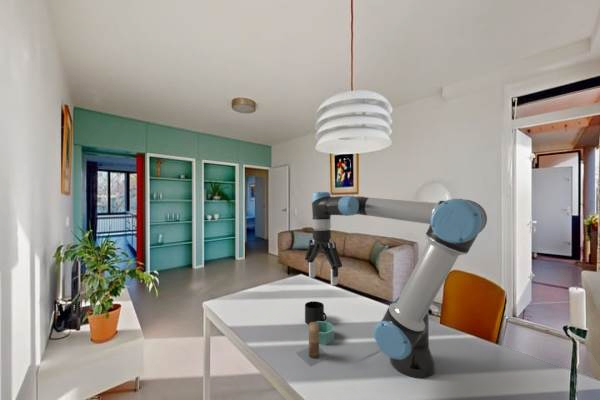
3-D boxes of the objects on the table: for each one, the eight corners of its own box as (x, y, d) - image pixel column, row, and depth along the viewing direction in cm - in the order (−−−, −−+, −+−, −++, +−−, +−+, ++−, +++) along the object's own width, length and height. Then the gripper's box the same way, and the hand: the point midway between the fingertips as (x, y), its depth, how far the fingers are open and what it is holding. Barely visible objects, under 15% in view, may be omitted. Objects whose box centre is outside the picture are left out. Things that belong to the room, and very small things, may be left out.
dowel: (321, 356, 98) (321, 325, 98) (312, 359, 95) (312, 327, 96) (314, 351, 101) (315, 320, 101) (306, 354, 99) (306, 323, 99)
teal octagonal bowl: (338, 341, 110) (338, 328, 110) (319, 349, 104) (319, 335, 104) (323, 331, 118) (323, 319, 118) (304, 337, 113) (304, 325, 113)
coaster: (331, 359, 97) (331, 356, 97) (310, 368, 92) (310, 366, 92) (315, 346, 106) (315, 344, 106) (295, 354, 100) (295, 352, 100)
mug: (320, 331, 118) (320, 311, 118) (301, 323, 126) (301, 305, 126) (331, 324, 125) (331, 305, 126) (312, 317, 133) (312, 299, 133)
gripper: (350, 230, 97) (351, 286, 97) (309, 227, 117) (310, 273, 117) (336, 232, 93) (337, 290, 92) (296, 228, 113) (297, 276, 112)
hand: (322, 281), depth 104 cm, fingers open, 13 cm apart
